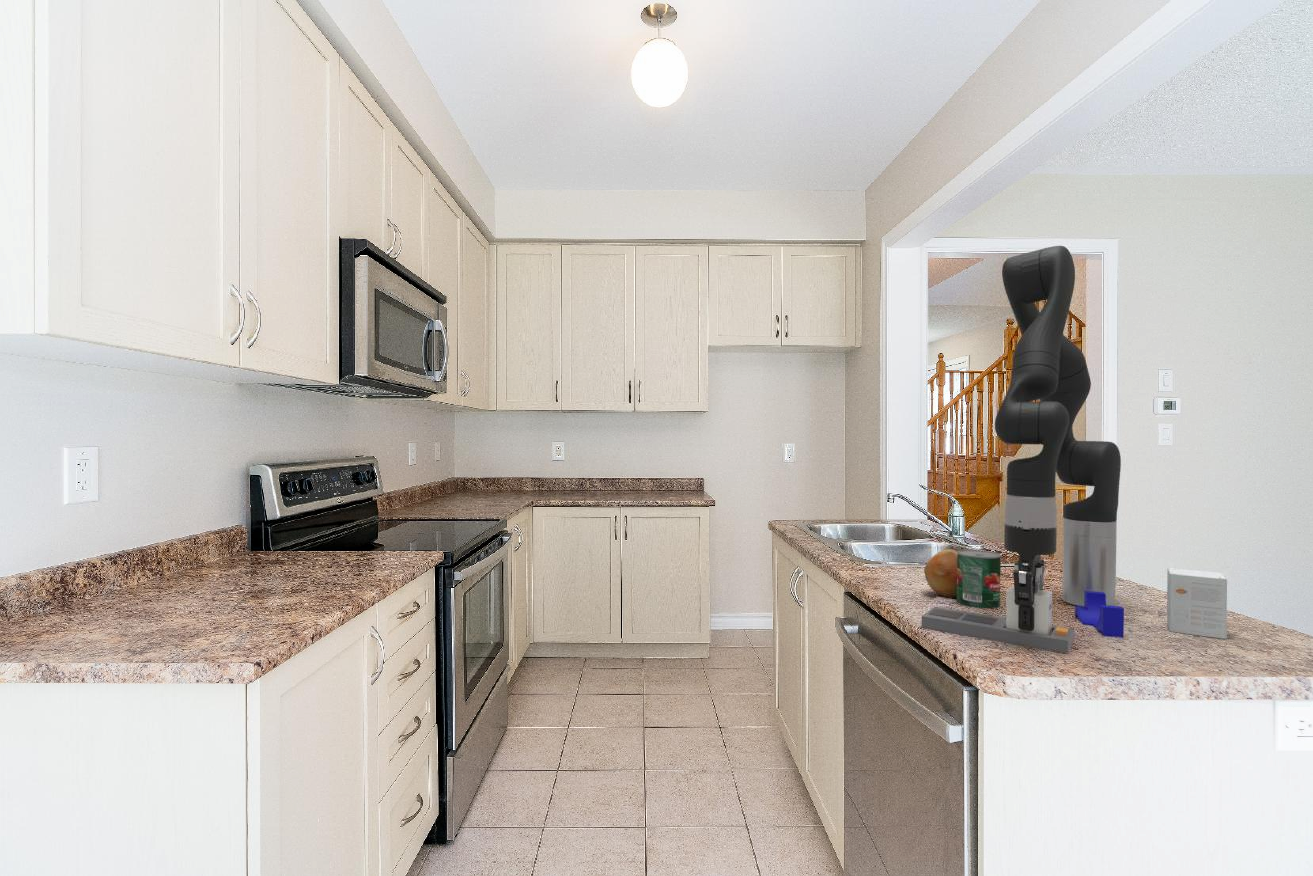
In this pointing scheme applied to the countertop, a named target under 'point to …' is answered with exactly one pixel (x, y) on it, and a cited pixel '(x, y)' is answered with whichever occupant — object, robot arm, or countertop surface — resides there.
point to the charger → (1040, 611)
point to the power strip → (995, 629)
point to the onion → (943, 573)
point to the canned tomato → (978, 578)
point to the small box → (1197, 603)
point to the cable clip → (1101, 614)
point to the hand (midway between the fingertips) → (1028, 625)
